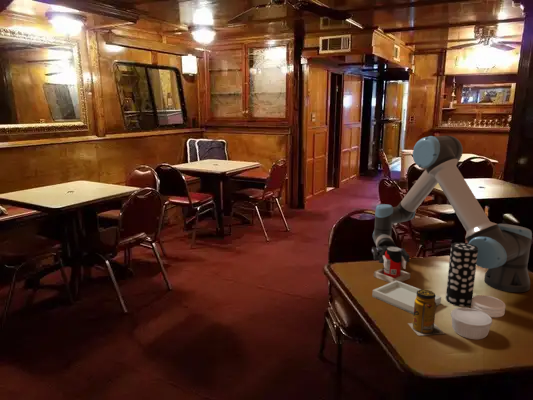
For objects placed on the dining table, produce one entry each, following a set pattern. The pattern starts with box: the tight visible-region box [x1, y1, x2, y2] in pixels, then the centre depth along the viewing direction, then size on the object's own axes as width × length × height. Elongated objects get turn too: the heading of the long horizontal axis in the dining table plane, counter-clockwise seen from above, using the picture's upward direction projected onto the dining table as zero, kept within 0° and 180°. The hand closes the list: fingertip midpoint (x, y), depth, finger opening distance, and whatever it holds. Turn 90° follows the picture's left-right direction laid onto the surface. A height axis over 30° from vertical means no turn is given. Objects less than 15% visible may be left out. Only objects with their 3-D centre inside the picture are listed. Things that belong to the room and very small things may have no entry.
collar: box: [373, 267, 411, 283], centre depth 164 cm, size 10×10×2 cm
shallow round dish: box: [470, 294, 506, 318], centre depth 137 cm, size 10×10×4 cm
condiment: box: [407, 288, 446, 336], centre depth 125 cm, size 7×8×12 cm
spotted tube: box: [445, 242, 478, 307], centre depth 142 cm, size 8×8×20 cm
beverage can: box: [383, 246, 402, 278], centre depth 163 cm, size 6×6×12 cm
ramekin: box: [450, 307, 493, 340], centre depth 124 cm, size 11×11×5 cm
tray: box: [371, 280, 442, 315], centre depth 144 cm, size 18×14×2 cm
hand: (395, 265), depth 158 cm, fingers closed on beverage can, 6 cm apart
